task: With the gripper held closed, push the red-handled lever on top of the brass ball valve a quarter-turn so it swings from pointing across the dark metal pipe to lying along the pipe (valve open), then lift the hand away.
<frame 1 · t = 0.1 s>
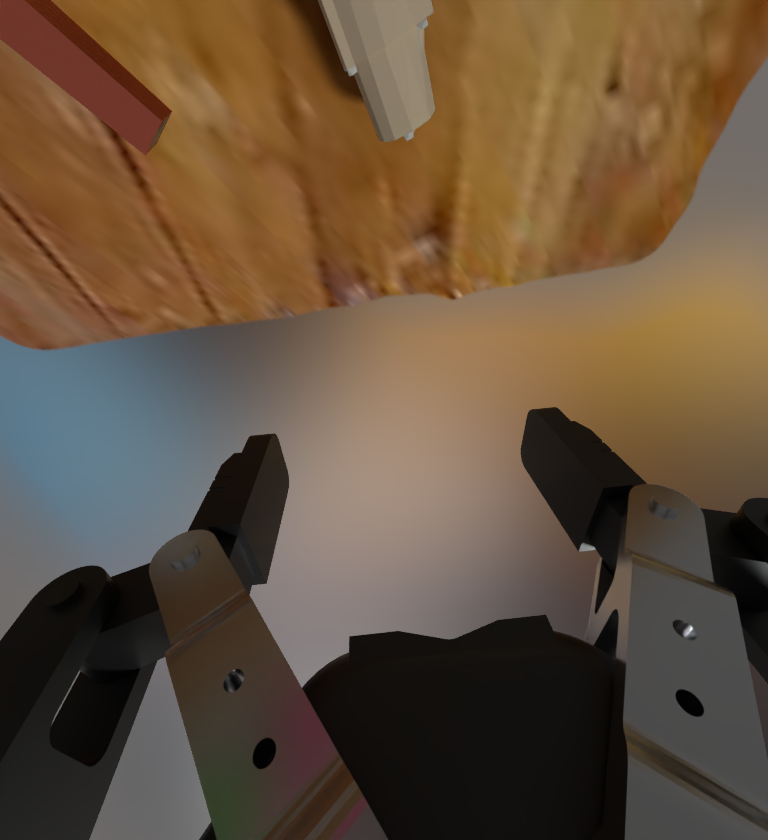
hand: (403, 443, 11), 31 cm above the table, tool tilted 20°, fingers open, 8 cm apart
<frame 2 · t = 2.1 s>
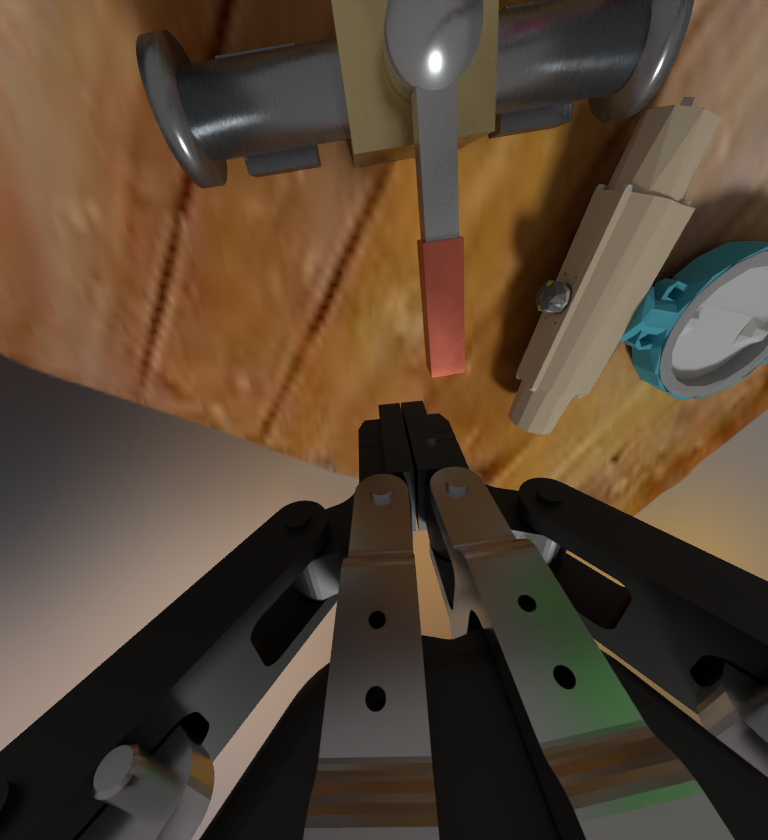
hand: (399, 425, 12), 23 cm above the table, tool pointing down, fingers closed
butterfly valve: (651, 311, 35), on the table
pipe valve: (400, 100, 24), on the table
valve lever: (438, 218, 18), point 12 cm above the table, hinge at 0.0°
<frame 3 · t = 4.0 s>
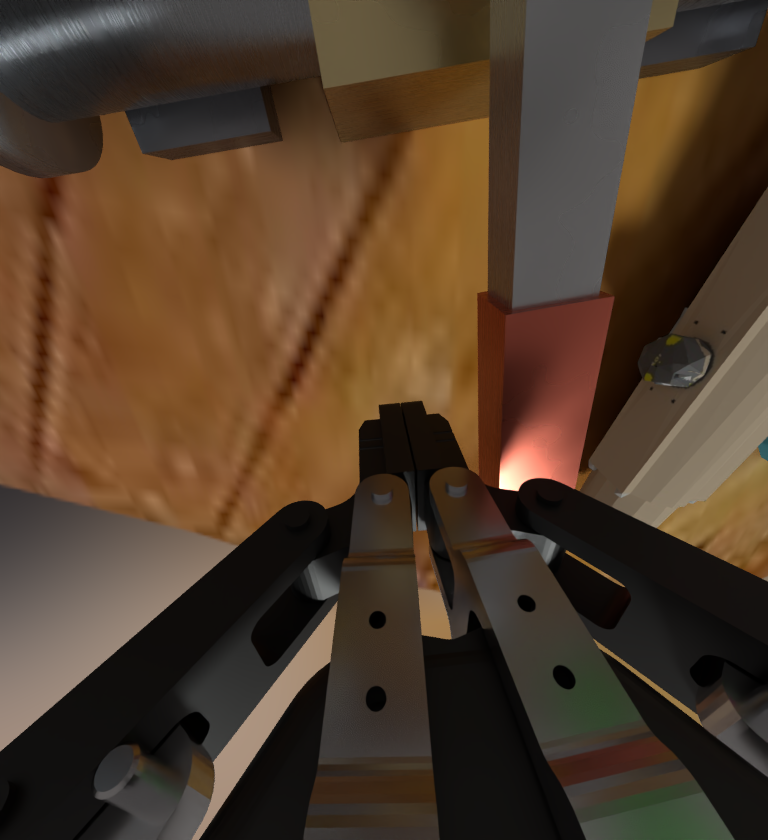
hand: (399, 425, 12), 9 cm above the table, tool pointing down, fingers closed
pipe valve: (425, 12, 13), on the table
valve lever: (542, 246, 7), point 12 cm above the table, hinge at 1.1°, touching gripper
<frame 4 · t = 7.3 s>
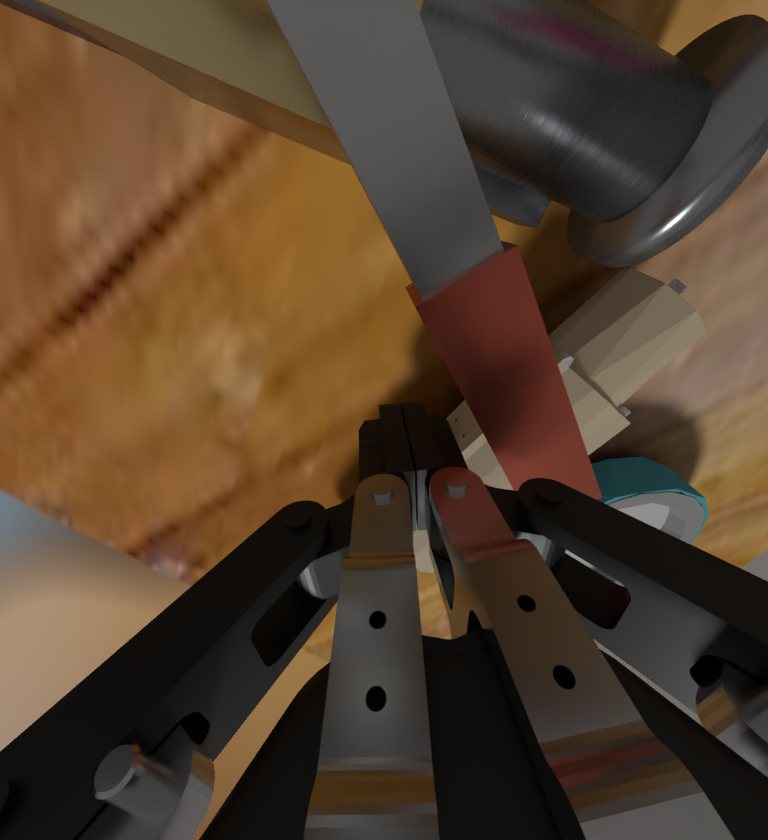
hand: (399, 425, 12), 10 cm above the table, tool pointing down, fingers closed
butterfly valve: (542, 488, 28), on the table
pipe valve: (304, 33, 13), on the table
valve lever: (433, 224, 7), point 11 cm above the table, hinge at 49.8°, touching gripper
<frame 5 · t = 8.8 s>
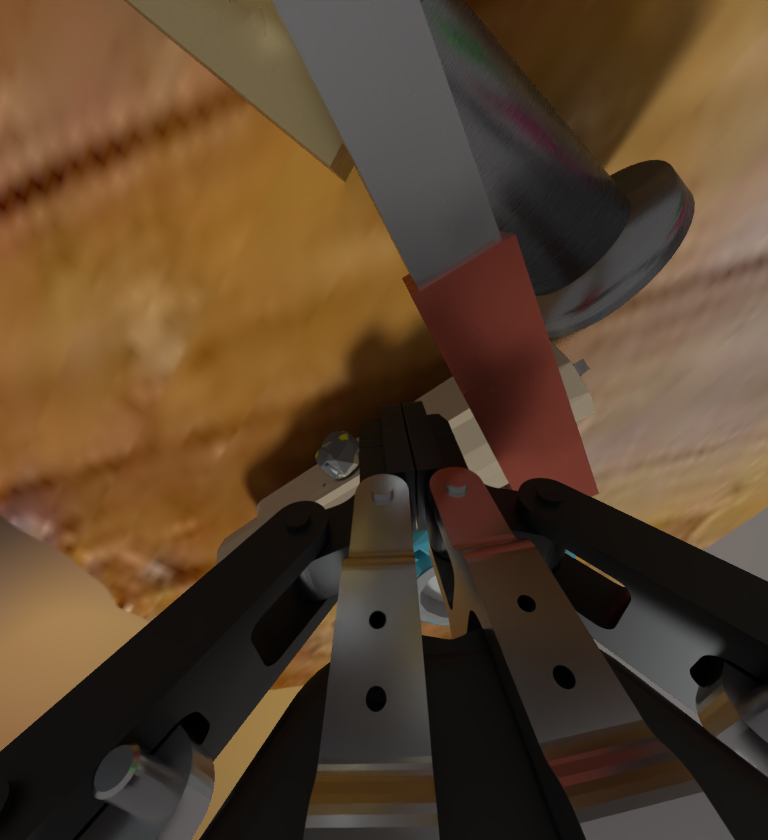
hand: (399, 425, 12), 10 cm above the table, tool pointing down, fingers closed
butterfly valve: (445, 517, 30), on the table
pipe valve: (302, 22, 13), on the table
valve lever: (430, 213, 7), point 12 cm above the table, hinge at 65.3°, touching gripper
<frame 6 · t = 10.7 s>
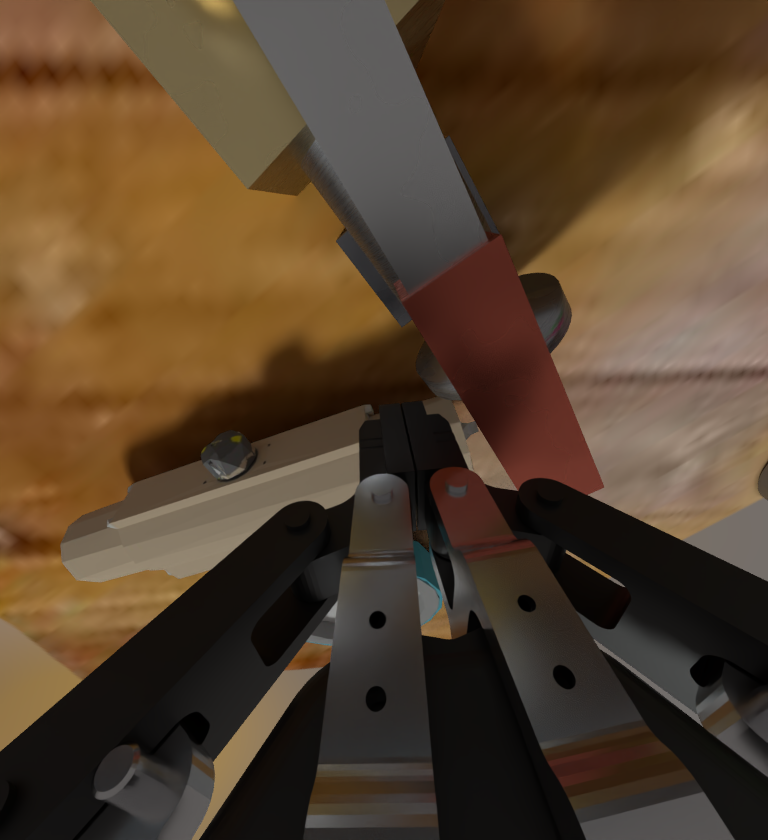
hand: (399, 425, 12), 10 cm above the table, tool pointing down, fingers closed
butterfly valve: (335, 536, 30), on the table
pipe valve: (284, 36, 13), on the table
valve lever: (416, 218, 7), point 11 cm above the table, hinge at 85.6°
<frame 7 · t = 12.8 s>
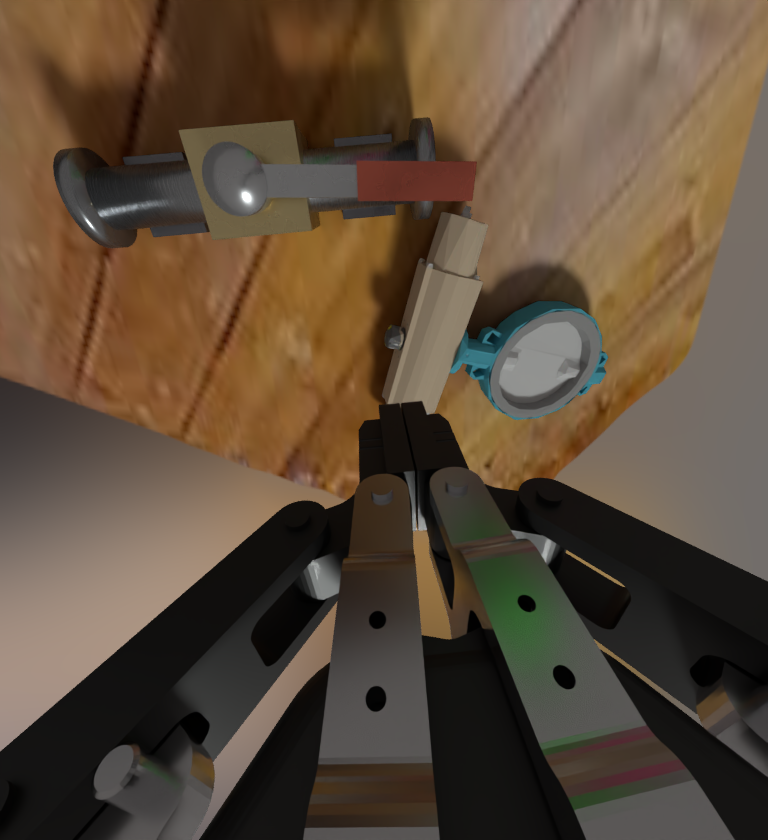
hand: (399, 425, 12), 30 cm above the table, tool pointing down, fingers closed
butterfly valve: (493, 348, 44), on the table
pipe valve: (272, 188, 33), on the table
valve lever: (342, 182, 23), point 11 cm above the table, hinge at 85.6°
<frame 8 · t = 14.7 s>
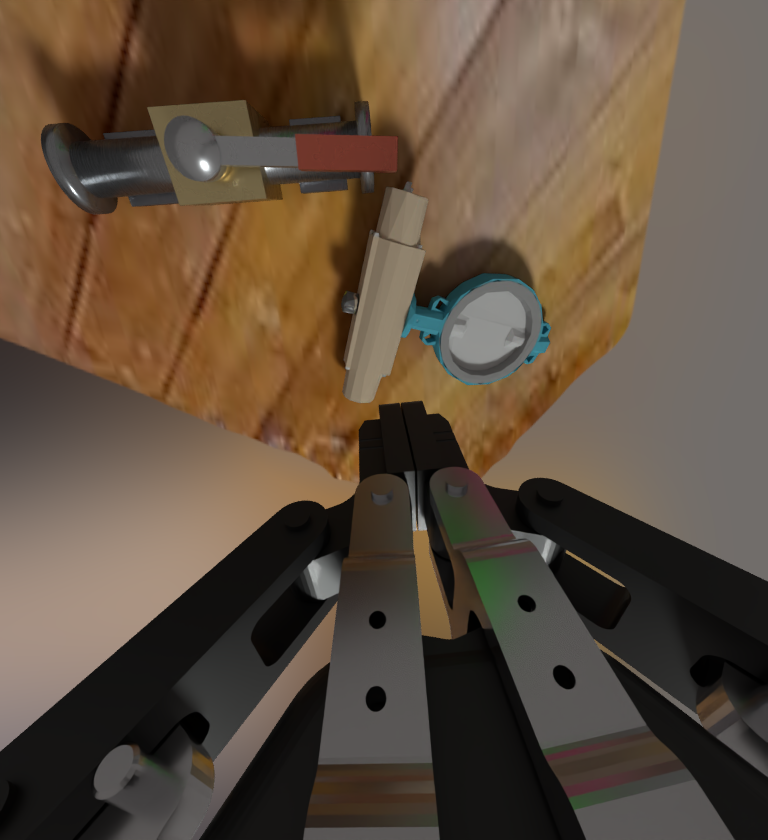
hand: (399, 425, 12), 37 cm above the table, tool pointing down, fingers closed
butterfly valve: (447, 319, 48), on the table
pipe valve: (238, 165, 37), on the table
valve lever: (286, 153, 28), point 11 cm above the table, hinge at 85.6°
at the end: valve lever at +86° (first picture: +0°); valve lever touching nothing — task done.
